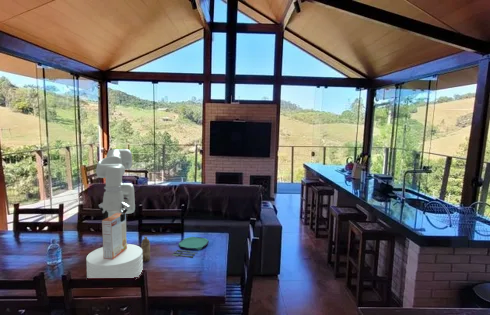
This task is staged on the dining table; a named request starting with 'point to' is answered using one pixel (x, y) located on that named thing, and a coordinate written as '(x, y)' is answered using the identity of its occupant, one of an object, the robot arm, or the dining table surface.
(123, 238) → the cracker box
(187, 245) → the cutlery set
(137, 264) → the plate stack
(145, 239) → the walnut pepper mill
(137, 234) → the dining table surface
